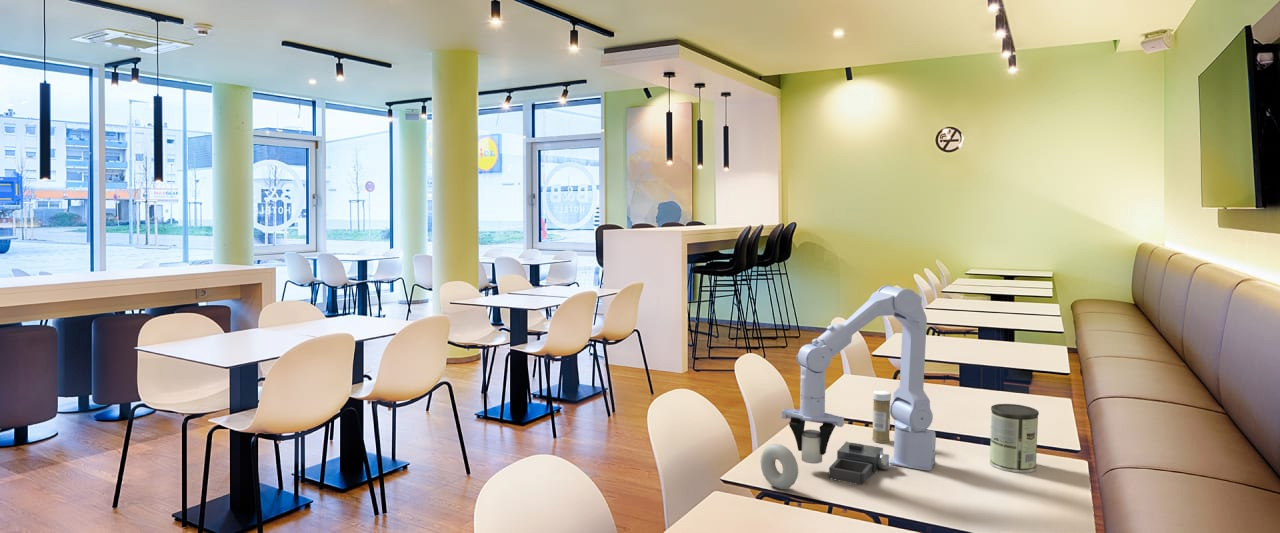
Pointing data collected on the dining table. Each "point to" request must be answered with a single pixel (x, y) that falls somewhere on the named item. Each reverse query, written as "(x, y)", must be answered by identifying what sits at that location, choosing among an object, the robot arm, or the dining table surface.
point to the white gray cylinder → (811, 446)
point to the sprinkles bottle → (881, 416)
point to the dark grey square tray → (850, 471)
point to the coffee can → (1014, 437)
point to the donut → (787, 463)
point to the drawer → (864, 455)
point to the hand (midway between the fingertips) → (811, 451)
